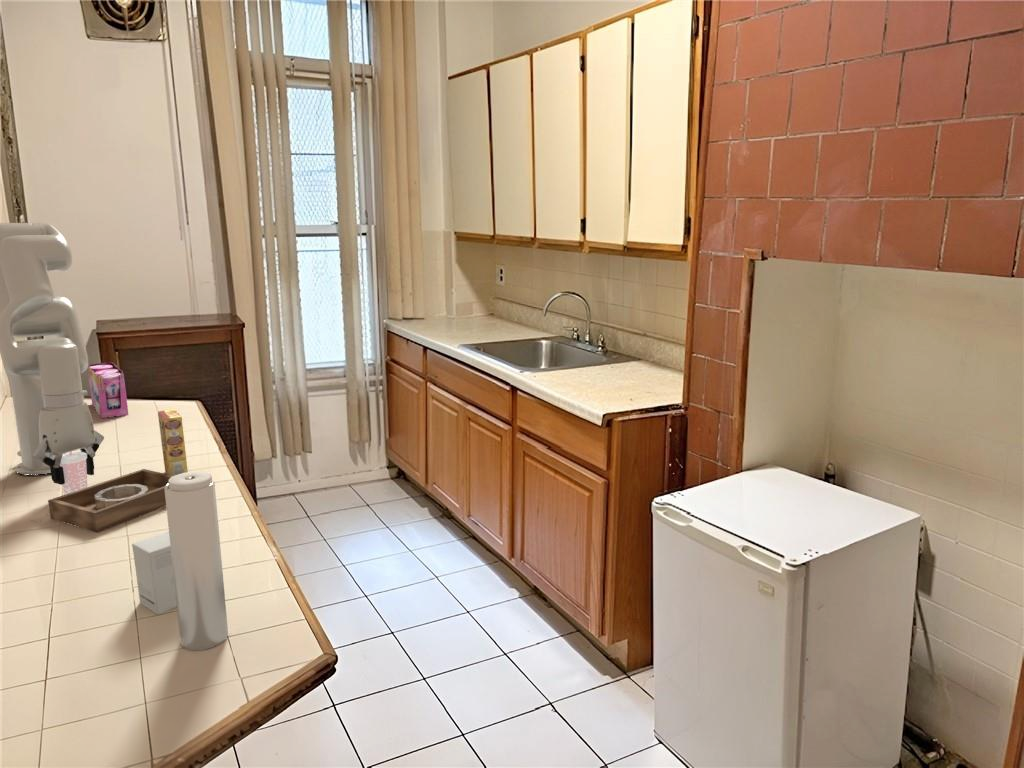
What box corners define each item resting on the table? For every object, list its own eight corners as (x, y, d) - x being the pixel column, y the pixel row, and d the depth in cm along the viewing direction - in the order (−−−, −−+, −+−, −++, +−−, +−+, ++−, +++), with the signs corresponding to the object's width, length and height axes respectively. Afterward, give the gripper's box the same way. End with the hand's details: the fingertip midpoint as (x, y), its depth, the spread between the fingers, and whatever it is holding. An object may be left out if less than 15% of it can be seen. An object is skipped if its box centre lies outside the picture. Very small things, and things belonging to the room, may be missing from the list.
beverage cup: (69, 501, 163) (61, 439, 160) (54, 496, 166) (46, 435, 163) (97, 493, 168) (89, 433, 165) (82, 487, 171) (74, 428, 168)
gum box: (130, 416, 233) (125, 373, 230) (101, 420, 228) (96, 376, 225) (117, 401, 252) (113, 361, 249) (91, 404, 247) (86, 364, 244)
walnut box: (50, 518, 153) (48, 500, 153) (145, 485, 173) (143, 468, 172) (97, 532, 147) (95, 513, 146) (190, 496, 166) (188, 479, 165)
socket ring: (85, 507, 157) (84, 496, 157) (128, 492, 166) (127, 481, 166) (116, 515, 153) (115, 504, 152) (159, 499, 162) (157, 488, 161)
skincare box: (199, 578, 128) (193, 521, 126) (219, 590, 124) (214, 531, 122) (137, 602, 120) (130, 541, 118) (156, 615, 116) (149, 553, 114)
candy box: (189, 479, 177) (183, 416, 174) (169, 482, 175) (163, 419, 171) (182, 468, 184) (176, 408, 181) (163, 471, 182) (156, 410, 178)
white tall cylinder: (189, 627, 113) (173, 470, 107) (233, 625, 113) (219, 469, 108) (174, 652, 106) (156, 486, 101) (220, 649, 107) (205, 484, 102)
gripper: (90, 390, 171) (99, 465, 175) (12, 406, 156) (24, 488, 160) (111, 393, 168) (120, 469, 172) (33, 410, 153) (45, 494, 157)
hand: (74, 477), depth 166 cm, fingers closed on beverage cup, 6 cm apart
